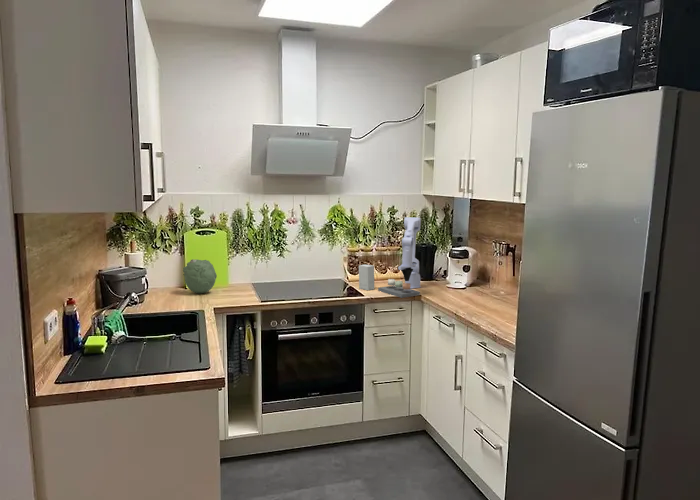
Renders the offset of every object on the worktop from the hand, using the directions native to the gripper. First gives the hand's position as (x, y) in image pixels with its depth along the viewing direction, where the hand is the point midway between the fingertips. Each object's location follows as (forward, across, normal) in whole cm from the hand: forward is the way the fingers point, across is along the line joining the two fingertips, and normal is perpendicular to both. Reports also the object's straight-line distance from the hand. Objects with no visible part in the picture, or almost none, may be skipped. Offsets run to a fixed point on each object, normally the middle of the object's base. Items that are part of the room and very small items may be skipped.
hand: (406, 280), depth 295 cm
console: (+8, -2, -7) cm, 11 cm away
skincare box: (+9, +4, -28) cm, 29 cm away
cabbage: (+9, +82, -87) cm, 120 cm away
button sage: (+5, -2, -7) cm, 8 cm away
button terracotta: (+5, 0, 0) cm, 5 cm away
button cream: (+5, -3, -14) cm, 15 cm away
